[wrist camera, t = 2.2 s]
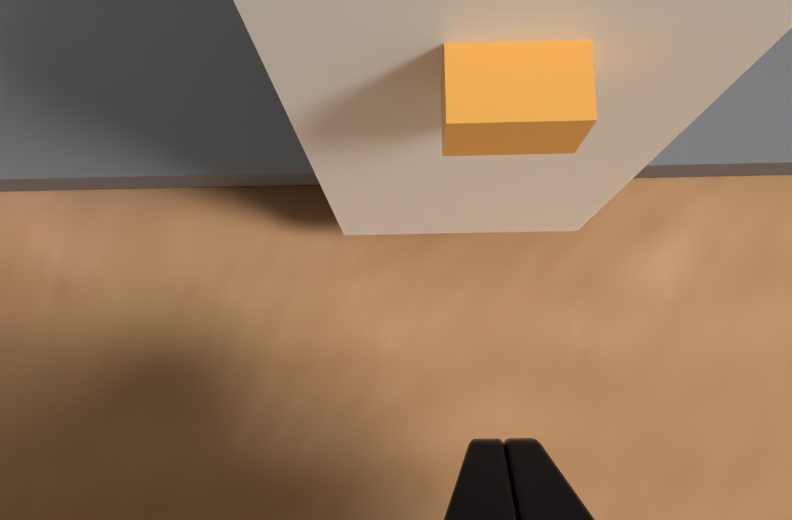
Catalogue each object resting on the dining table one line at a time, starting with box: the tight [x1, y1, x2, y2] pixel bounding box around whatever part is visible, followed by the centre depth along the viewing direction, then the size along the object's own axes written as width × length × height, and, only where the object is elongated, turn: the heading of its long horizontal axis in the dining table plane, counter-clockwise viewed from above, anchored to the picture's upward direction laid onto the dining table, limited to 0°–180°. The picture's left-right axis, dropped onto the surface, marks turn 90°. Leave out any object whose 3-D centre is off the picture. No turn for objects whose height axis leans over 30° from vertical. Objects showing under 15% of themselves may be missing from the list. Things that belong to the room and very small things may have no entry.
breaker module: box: [233, 0, 792, 235], centre depth 11 cm, size 7×5×10 cm
